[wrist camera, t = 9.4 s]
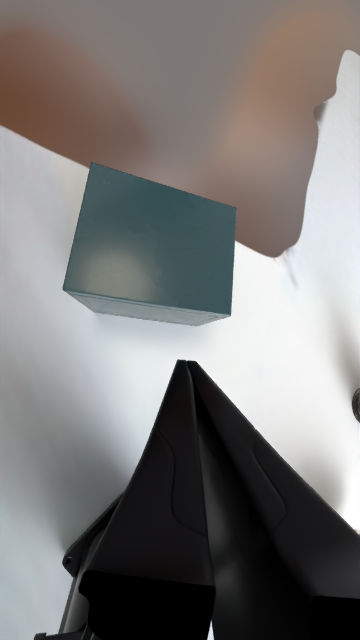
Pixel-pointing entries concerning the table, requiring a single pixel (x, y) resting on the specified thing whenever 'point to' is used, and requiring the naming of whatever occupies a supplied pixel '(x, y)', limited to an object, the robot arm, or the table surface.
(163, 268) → the green box lid
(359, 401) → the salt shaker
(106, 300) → the open-top green box
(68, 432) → the table surface
